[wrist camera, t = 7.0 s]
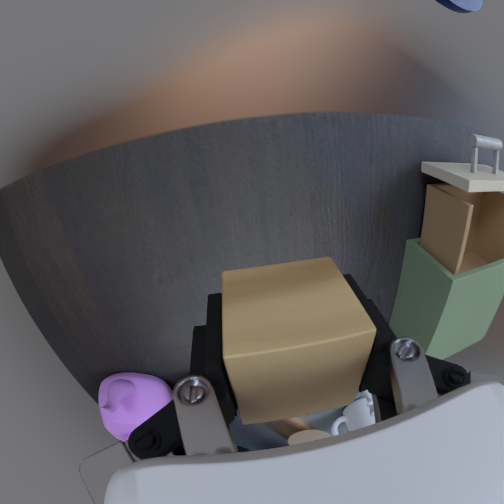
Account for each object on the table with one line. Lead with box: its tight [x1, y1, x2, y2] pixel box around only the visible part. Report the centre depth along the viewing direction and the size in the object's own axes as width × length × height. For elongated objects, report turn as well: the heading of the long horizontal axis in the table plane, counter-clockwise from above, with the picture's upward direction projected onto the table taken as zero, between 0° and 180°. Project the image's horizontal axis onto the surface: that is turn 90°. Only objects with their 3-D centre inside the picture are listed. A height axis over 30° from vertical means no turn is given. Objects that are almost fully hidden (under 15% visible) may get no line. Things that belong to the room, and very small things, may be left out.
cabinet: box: [389, 237, 504, 360], centre depth 30 cm, size 15×15×10 cm
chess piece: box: [358, 389, 375, 416], centre depth 39 cm, size 5×5×10 cm
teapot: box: [98, 372, 174, 441], centre depth 34 cm, size 13×20×11 cm, turn 5°
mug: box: [331, 397, 375, 436], centre depth 45 cm, size 12×8×10 cm
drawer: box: [419, 134, 504, 275], centre depth 24 cm, size 18×14×8 cm
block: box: [222, 257, 376, 424], centre depth 10 cm, size 4×4×4 cm
